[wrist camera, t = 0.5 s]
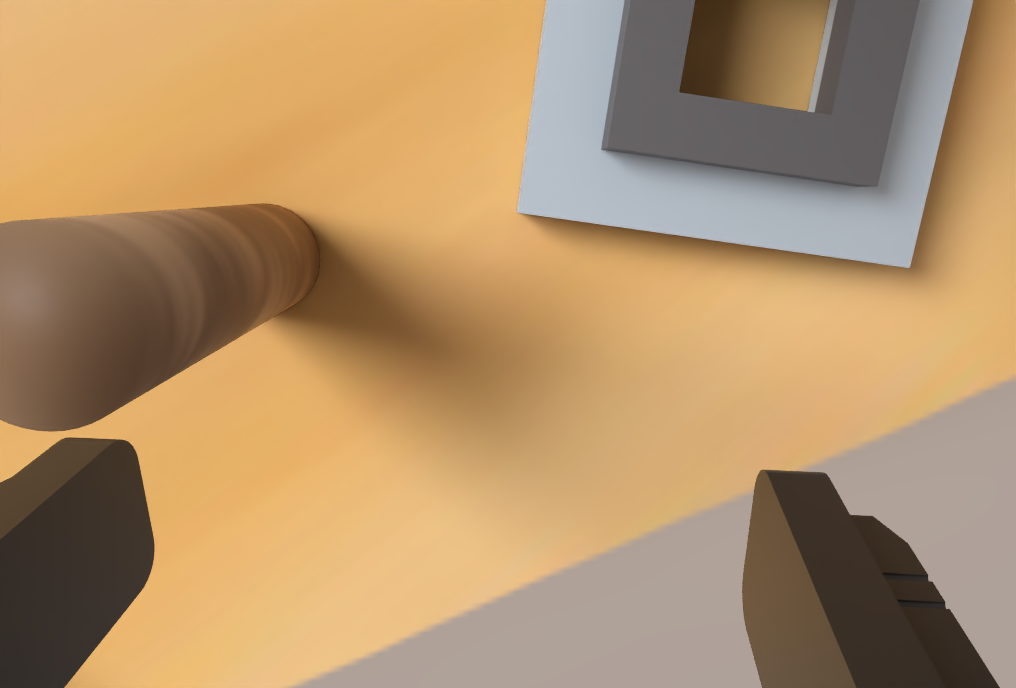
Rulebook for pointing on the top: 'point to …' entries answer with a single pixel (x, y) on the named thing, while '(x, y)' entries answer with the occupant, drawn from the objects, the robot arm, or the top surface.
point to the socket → (743, 130)
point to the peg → (135, 301)
